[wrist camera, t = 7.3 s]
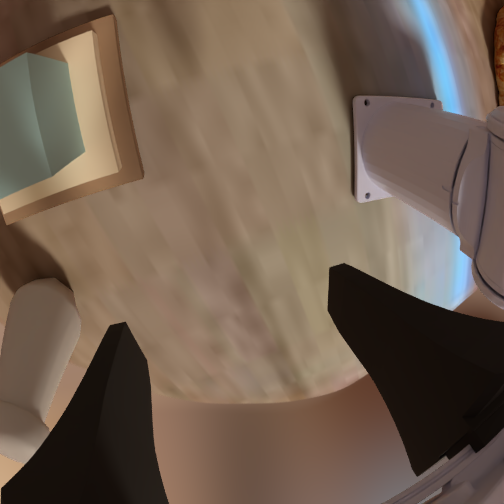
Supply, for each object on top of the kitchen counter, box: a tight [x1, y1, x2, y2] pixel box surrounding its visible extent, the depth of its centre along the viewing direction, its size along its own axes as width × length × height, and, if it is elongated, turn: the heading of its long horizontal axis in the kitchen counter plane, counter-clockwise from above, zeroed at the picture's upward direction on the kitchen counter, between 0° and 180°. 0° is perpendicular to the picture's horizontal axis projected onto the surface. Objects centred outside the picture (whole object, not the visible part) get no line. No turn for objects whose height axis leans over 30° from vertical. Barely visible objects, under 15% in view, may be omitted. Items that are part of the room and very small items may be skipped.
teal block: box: [0, 52, 86, 199], centre depth 9 cm, size 5×5×5 cm
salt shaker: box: [0, 278, 81, 464], centre depth 13 cm, size 6×6×13 cm
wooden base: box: [0, 14, 144, 225], centre depth 12 cm, size 10×10×2 cm
